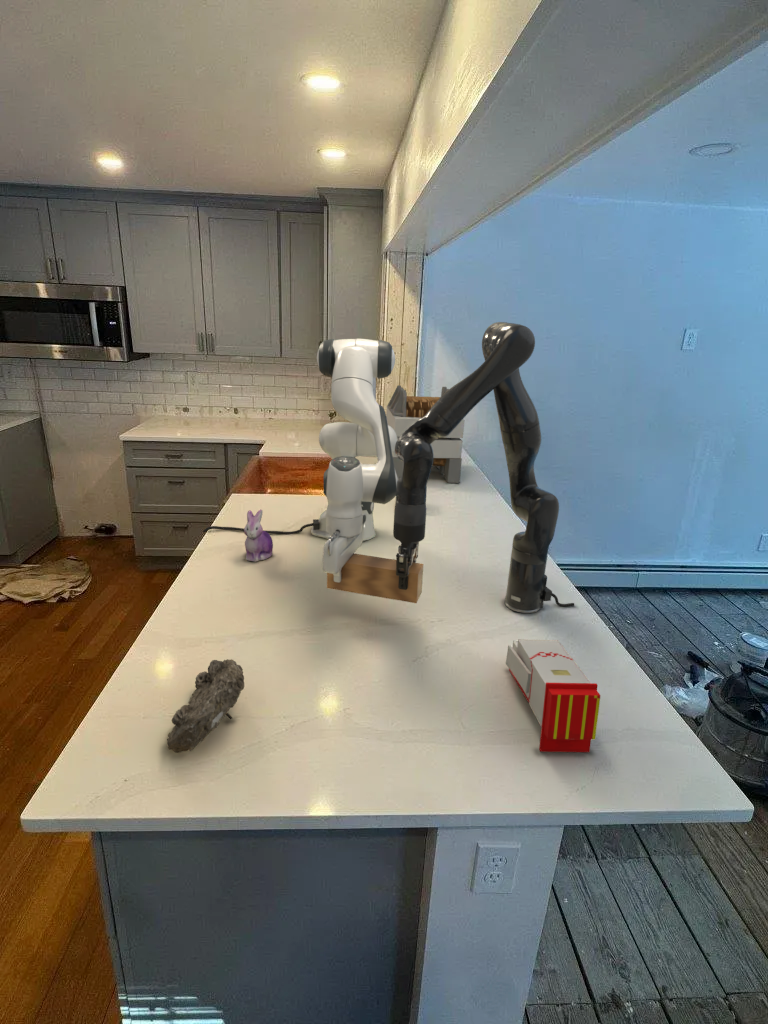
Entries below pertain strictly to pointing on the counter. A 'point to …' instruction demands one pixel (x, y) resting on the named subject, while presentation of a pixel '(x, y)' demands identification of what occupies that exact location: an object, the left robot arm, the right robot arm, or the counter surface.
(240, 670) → the fossil
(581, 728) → the toy
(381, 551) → the counter surface
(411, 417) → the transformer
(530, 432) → the right robot arm
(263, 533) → the figurine
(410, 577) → the bar
